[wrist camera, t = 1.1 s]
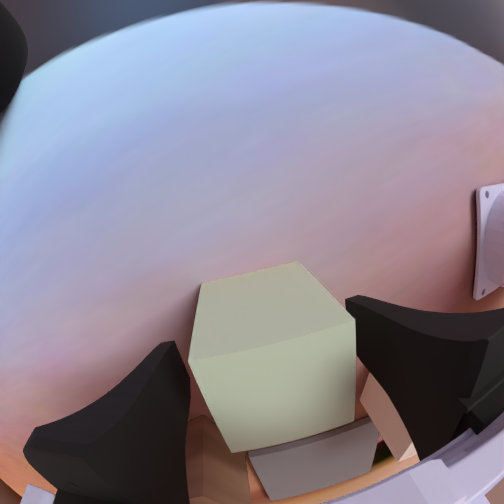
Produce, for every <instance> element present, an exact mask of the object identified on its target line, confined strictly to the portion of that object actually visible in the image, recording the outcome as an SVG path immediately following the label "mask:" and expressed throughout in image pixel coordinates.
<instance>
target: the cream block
mask: <svg viewBox="0 0 504 504" xmlns="http://www.w3.org/2000/svg"><path fill="white" fill-rule="evenodd" d="M360 402H361V404H362V405H363V407H364V408H365V410H366V412H367V413H368V415H369V417H370V418H371V420H372V421H373V423H374V425H375V426H376V428H377V430H378V431H379V433H380V434H381V436H382V438H383V439H384V441H385V443H386V444H387V446H388V447H389V449H390V451H391V452H392V454H393V456H394V457H395V459H396V461H397V462H400V461H402V460H405V459H407V458H409V457H412V456H414V455H416V454H417V452H416V449H415V447H414V445H413V442H412V440H411V438H410V436H409V434H408V432H407V429H406V427H405V425H404V423H403V422H402V420H401V418H400V416H399V414H398V412H397V410H396V409H395V407H394V405H393V403H392V402H391V400H390V398H389V397H388V395H387V394H386V392H385V391H384V389H383V388H382V387H381V385H380V384H379V383H378V382H377V380H376V379H375V378H374V377H373V375H372V374H371V373H370V372H369V375H368V378H367V381H366V383H365V386H364V389H363V392H362V394H361V397H360Z"/></svg>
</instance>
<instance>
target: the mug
mask: <svg viewBox="0 0 504 504" xmlns="http://www.w3.org/2000/svg"><path fill="white" fill-rule="evenodd" d="M27 55H28V47H27V41H26V38H25V35H24V33H23V31H22V29H21V27H20V26H19V24H18V23H17V21H16V20H15V19H14V17H13V16H12V15H11V13H10V12H9V11H8V10H7V9H6V8H5V6H4V5H3V4H2V3H1V2H0V114H1V112H2V111H3V110H4V108H5V107H6V106H7V104H8V103H9V101H10V99H11V98H12V96H13V94H14V92H15V91H16V89H17V87H18V84H19V82H20V80H21V77H22V75H23V72H24V69H25V66H26V61H27Z"/></svg>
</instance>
